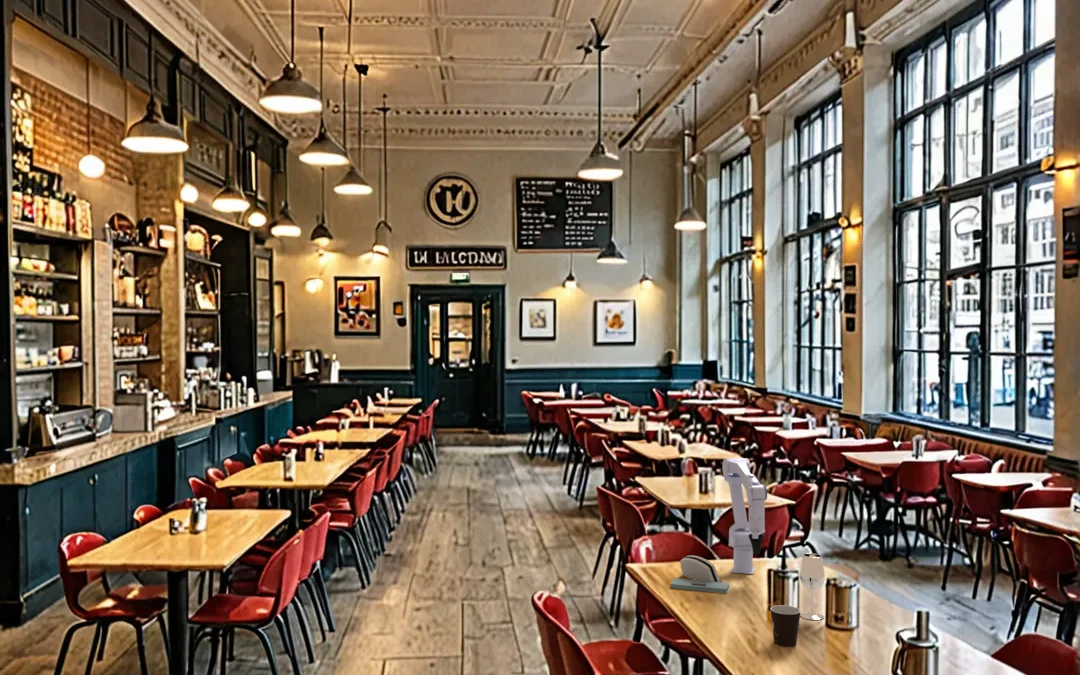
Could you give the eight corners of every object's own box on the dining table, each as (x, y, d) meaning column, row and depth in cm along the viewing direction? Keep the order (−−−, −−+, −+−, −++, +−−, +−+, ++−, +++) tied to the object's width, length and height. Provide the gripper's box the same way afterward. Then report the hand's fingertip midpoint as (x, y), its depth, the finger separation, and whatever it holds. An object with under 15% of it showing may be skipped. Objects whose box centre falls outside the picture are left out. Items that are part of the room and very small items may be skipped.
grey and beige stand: (723, 583, 320) (716, 559, 318) (714, 590, 318) (708, 565, 316) (691, 573, 334) (685, 550, 332) (683, 579, 332) (676, 555, 330)
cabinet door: (674, 582, 322) (674, 576, 322) (729, 587, 316) (729, 581, 316) (670, 588, 314) (670, 582, 314) (726, 593, 308) (726, 587, 308)
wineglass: (828, 616, 283) (829, 555, 283) (818, 622, 278) (818, 559, 278) (806, 611, 289) (806, 551, 289) (795, 616, 283) (795, 555, 283)
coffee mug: (795, 650, 252) (795, 616, 252) (766, 644, 257) (766, 610, 257) (806, 638, 262) (806, 605, 262) (778, 633, 267) (778, 600, 267)
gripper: (747, 513, 331) (747, 548, 331) (743, 520, 317) (743, 557, 317) (766, 514, 328) (766, 550, 328) (763, 521, 315) (763, 559, 315)
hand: (756, 554), depth 322 cm, fingers closed
